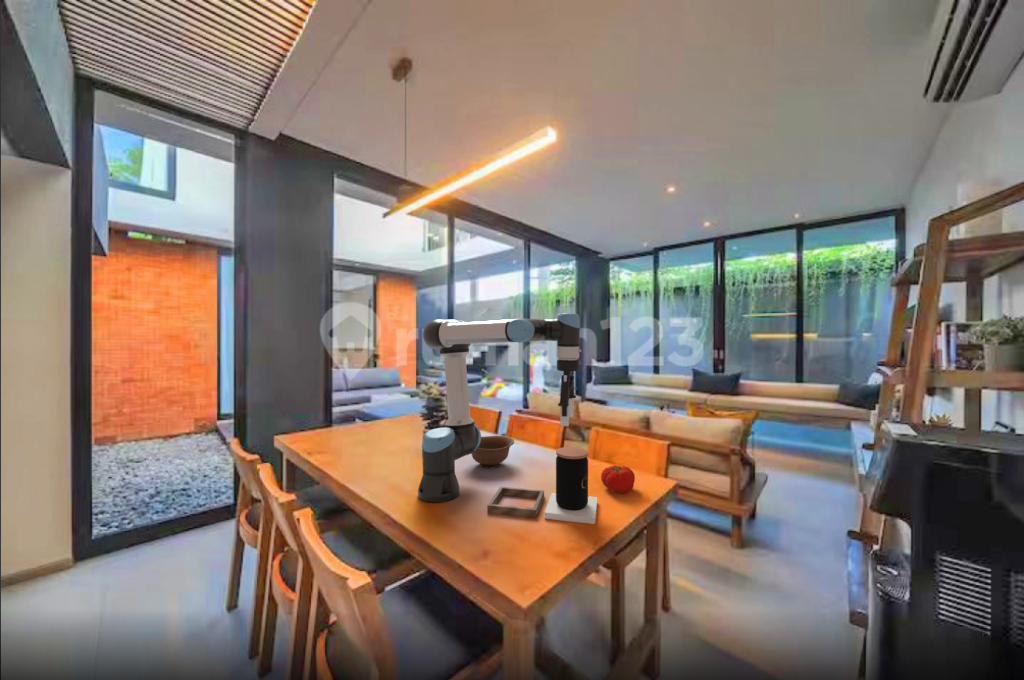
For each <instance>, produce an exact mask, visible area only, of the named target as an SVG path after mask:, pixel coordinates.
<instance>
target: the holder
mask: <svg viewBox="0 0 1024 680" xmlns="http://www.w3.org/2000/svg"><path fill="white" fill-rule="evenodd" d="M503 495H504V496H512V497H524V498H534V499H536V500H535V503H534V505H533V507H532V508H531V507H525V506H513V505H505V504H504V505H503V504H498V503H499V501H500V500H501V498H502V497H503ZM544 499H545V490H543V489H542V490H541V489H532V488H520V487H519V488H518V487H511V486H501V485H500V487H498V490H496V492H495V493H494V495H493V496H492V498H491V499H490V501H489V502H488V504H487V505H486V506H487V508H486V509H487V511H486V512H487V513H488V514H495V515H496V514H498V515H507V516H514V517H515V516H516V517H523V518H524V517H525V518H534V519H536V518H537V517H538V513H539V511H540V508H541V506H542V504H543V502H544Z"/></svg>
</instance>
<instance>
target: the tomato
mask: <svg viewBox="0 0 1024 680" xmlns="http://www.w3.org/2000/svg"><path fill="white" fill-rule="evenodd" d="M600 479H601V483H602V484H603V486H604V487H606V488H608V489H609V490H610V491H612V492H613V493H616V494H617V493H620V494H627V493H630V492H631V491H633V488H634V484H635V481H636V480H635V479H636V476H635V473H634V471H633V470H632V469H631V468H630V467H628V466H625V465H623V466H621V465H611V466H608V467H606V468H604V469H603V470H602V472H601V476H600Z"/></svg>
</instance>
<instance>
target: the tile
mask: <svg viewBox="0 0 1024 680" xmlns="http://www.w3.org/2000/svg"><path fill="white" fill-rule="evenodd" d="M597 508H598V497H597V496H590V495H588V503H587V505H586V507H585V508H583V509H581V510H576V511H575V510H566V509H563V508H561V507H560V506H559V505H558V504H557V502H556V492H551V494H550V497H549V500H548V501H547V506H546V507H545V510H544V519H545V520H553V521H555V520H557V521H561V522H562V521H563V522H573V523H582V524H589V525H590V524H591V525H596V522H597V521H596V520H597V512H598V511H597V510H598V509H597Z"/></svg>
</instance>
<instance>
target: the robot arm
mask: <svg viewBox="0 0 1024 680" xmlns="http://www.w3.org/2000/svg"><path fill="white" fill-rule="evenodd" d="M580 323H581V321H580V315H579V314H578V313H575V312H573V313H571V312H569V313H567V312H564V313H563V312H562V313H558V314H557V318H552V319H550V318H548V319H547V318H525V317H520V318H513V319H500V320H496V319H495V320H486V321H482V320H481V321H468V322H467V321H465V320H462V319H461V320H460V319H457V318H454V319H440V318H439V319H434V320H433V319H432V320H431V321H429V322H428V323H427V324H425V326H424V328H423V332H422V338H423V341H424V343H425V345H426V346H427V347H428V348H431V349H433V350H437V351H439V355H440V356H441V358H443V362H444V363H443V364H444V375H445V376H444V377H445V389H446V400H447V401H446V403H447V413H448V414H447V416H448V419H447V420H446V422H445V423H444V426H445V427H438V428H433V429H429V430H428V431H426V432H425V433H424V434H423V436H422V443H421V448H422V449H421V450H422V452H421V453H422V477H421V480H420V483H419V485H418V489H417V497H418V499H420V500H421V501H423V502H426V503H427V502H428V503H444V502H449V501H451V500H455V499H457V498H458V497H459V496H460V493H461V491H460V489H461V488H460V487H461V486H460V484H459V481H458V478H457V475H456V472H455V471H456V466H455V465H456V464H455V463H456V461H457V460H460V459H461V458H463V457H465V456H468V455H472V454H471V453H472V452H473V451H475V450H476V449H477V448H478V447H479V445H480V442H481V437H482V434H481V431H480V429H479V428H478V426H477V425H476V424H475V419H473V418H472V417H471V410H470V409H471V408H470V397H469V386H468V385H469V383H468V370H467V369H468V368H467V359H466V357H467V356H468V355H469V353H470V348H469V347H470V346H471V345H473V344H494V343H495V344H499V343H500V344H501V343H527V342H539V341H540V342H541V341H542V342H543V341H544V342H545V341H547V342H552V341H553V342H556V358H558V359H556V370H557V371H559V372H563V374H562V375H561V376H560V379H561V385H560V395H559V402H558V403H557V404H558V405H557V406H558V407H560V410H559V411H560V413H559V415H560V416H559V417H560V418H559V419H560V420H559V425H560V426H561V427H569V426H570V418H574V416H575V415H574V414H575V413H574V410H575V408H574V407H575V403H574V402H575V401H574V400H575V399H576V398H577V396H576V394H575V393H576V392H575V375H574V374H575V373H574V372H579V370H580V360H579V358H580V353H581V352H582V350H581V348H580V342H581V341H580V336H581V324H580Z"/></svg>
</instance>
